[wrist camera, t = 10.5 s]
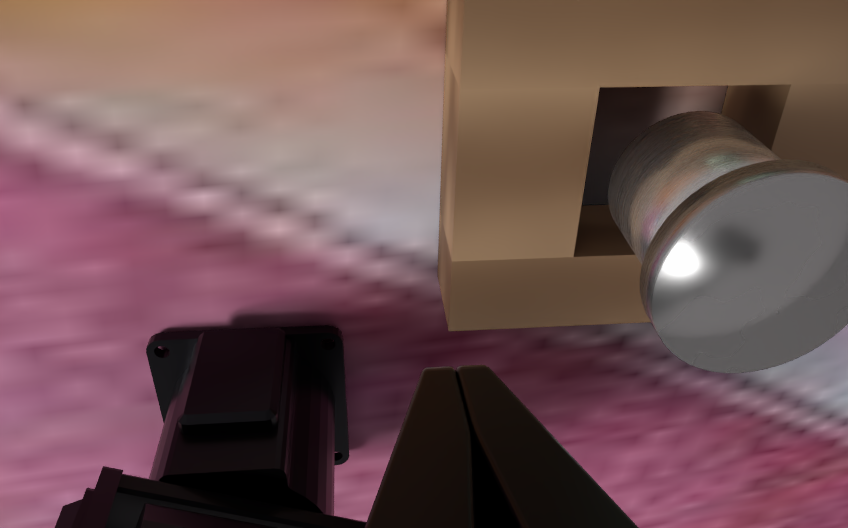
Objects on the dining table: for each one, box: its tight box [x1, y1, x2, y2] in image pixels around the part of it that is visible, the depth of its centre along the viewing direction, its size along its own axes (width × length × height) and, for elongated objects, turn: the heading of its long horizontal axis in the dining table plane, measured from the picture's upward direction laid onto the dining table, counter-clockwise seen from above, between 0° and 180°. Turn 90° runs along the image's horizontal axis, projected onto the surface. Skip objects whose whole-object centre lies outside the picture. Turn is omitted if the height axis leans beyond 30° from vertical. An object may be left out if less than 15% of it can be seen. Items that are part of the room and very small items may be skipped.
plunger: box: [608, 111, 848, 373], centre depth 17 cm, size 5×5×5 cm
